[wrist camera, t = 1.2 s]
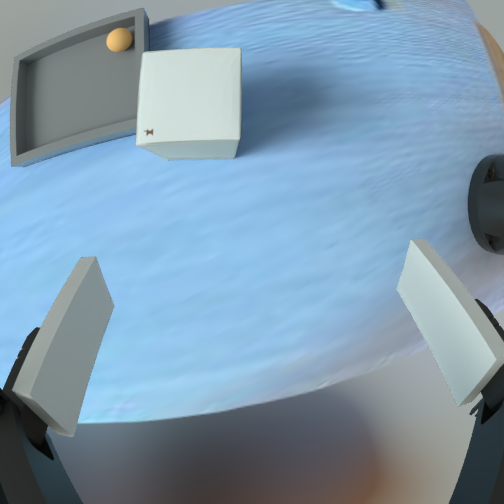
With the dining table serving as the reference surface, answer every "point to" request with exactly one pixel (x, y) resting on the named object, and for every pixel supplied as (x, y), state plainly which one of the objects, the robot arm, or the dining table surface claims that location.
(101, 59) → the tray
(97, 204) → the dining table surface
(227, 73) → the supplement box
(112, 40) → the ball
